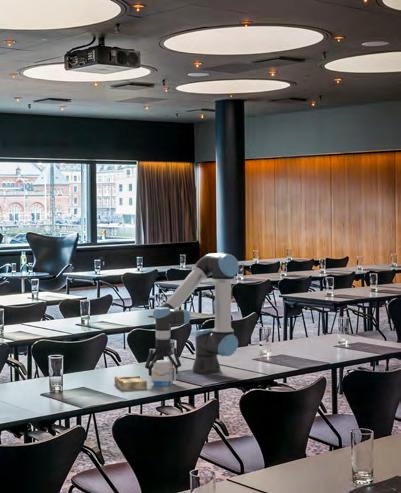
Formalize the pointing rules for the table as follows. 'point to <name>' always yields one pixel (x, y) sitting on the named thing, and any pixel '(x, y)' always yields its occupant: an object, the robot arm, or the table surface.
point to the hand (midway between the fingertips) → (163, 381)
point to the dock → (130, 383)
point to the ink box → (163, 373)
